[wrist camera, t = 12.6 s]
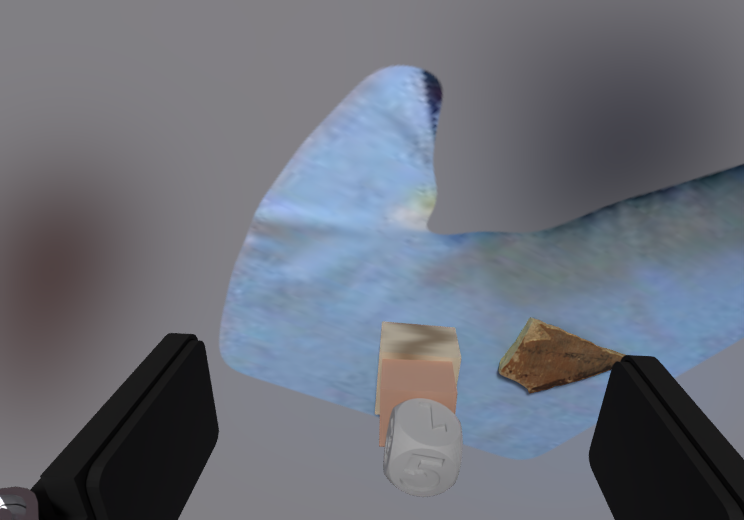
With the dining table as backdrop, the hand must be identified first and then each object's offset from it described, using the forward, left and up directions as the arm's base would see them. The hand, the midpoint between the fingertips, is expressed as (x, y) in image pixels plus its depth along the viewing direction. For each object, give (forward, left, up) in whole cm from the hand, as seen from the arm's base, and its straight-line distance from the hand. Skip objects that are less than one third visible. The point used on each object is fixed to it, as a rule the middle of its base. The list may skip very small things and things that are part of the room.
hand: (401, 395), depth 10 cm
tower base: (-3, +19, -29) cm, 35 cm away
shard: (-16, +17, -29) cm, 38 cm away
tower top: (-3, +19, -24) cm, 31 cm away
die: (-3, +19, -20) cm, 28 cm away
